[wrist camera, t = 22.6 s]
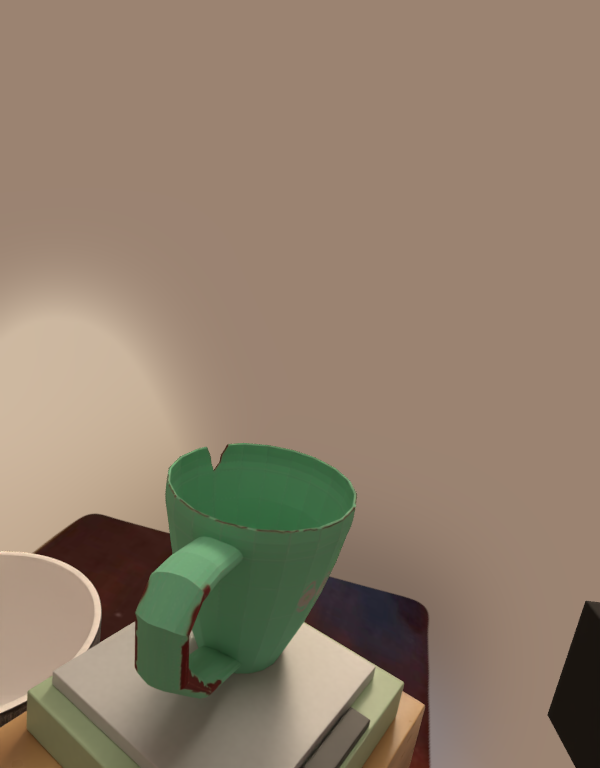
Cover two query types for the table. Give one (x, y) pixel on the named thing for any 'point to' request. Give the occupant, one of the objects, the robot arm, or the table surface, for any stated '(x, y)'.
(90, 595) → the planter
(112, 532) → the table surface
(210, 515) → the mug
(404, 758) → the riser
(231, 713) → the scale
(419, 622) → the table surface
